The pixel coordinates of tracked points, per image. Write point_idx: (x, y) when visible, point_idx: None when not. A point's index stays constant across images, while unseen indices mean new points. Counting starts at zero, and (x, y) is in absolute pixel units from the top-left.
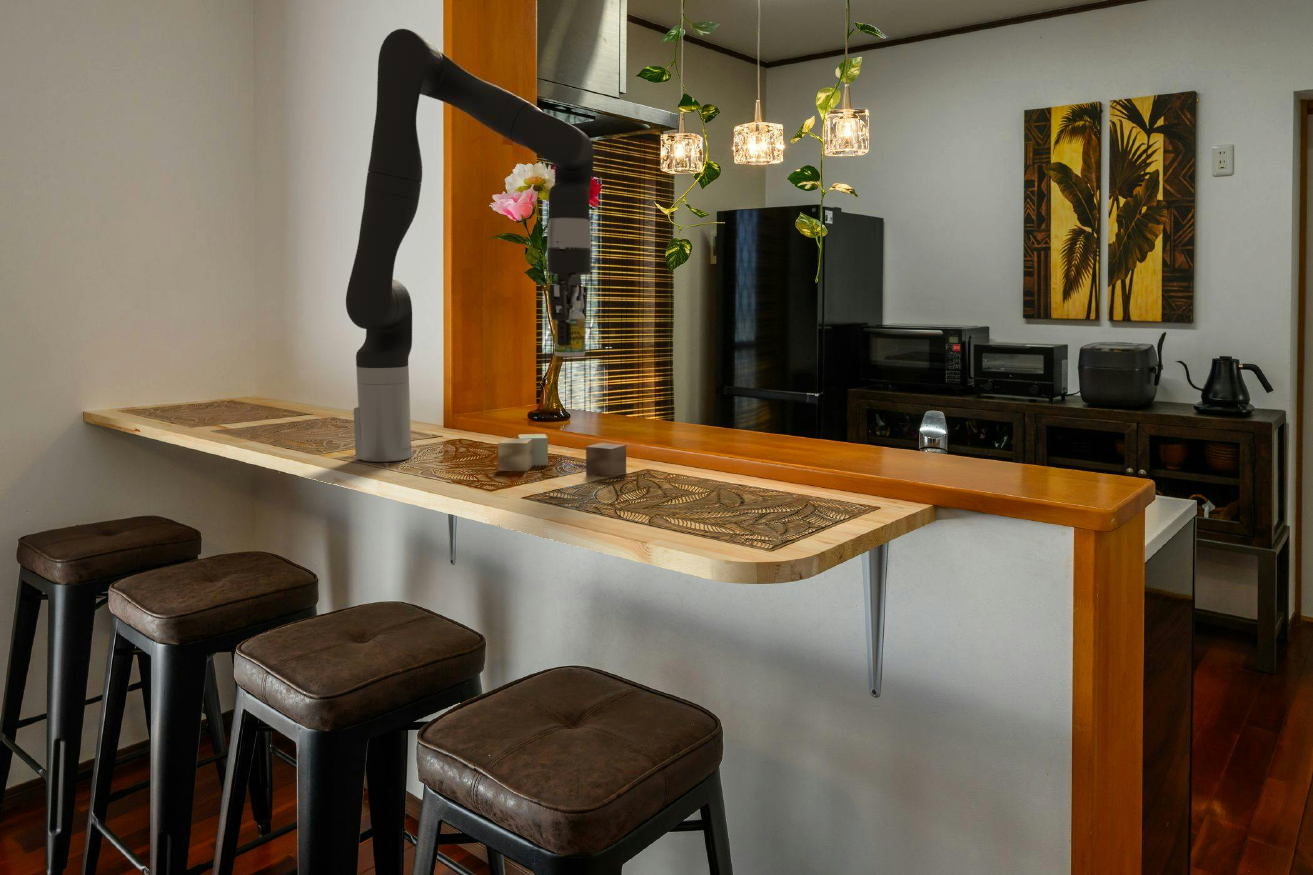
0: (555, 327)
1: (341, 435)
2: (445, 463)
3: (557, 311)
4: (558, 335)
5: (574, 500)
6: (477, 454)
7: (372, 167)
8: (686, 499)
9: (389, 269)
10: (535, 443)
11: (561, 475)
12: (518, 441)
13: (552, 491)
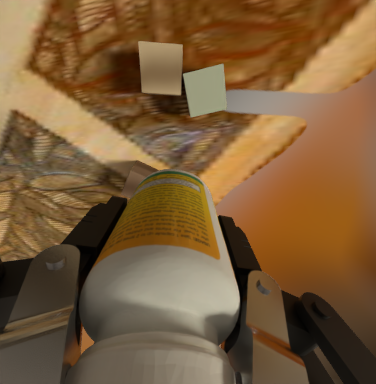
0: (130, 220)
1: None
2: None
3: (14, 316)
4: (85, 216)
5: (27, 159)
6: None
7: None
8: (66, 230)
9: None
10: (187, 99)
11: (131, 137)
12: (156, 76)
13: (54, 136)
